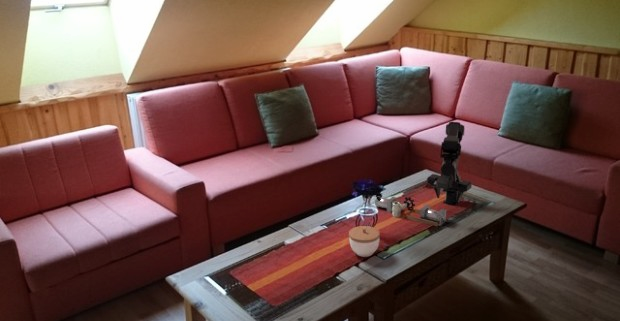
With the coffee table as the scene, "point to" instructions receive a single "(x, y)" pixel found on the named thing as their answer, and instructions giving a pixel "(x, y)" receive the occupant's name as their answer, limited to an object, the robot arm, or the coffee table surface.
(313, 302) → the coffee table surface
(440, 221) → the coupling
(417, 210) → the cradle rails
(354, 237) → the lidded bowl
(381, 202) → the pipe stub
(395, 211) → the valve
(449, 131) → the robot arm
